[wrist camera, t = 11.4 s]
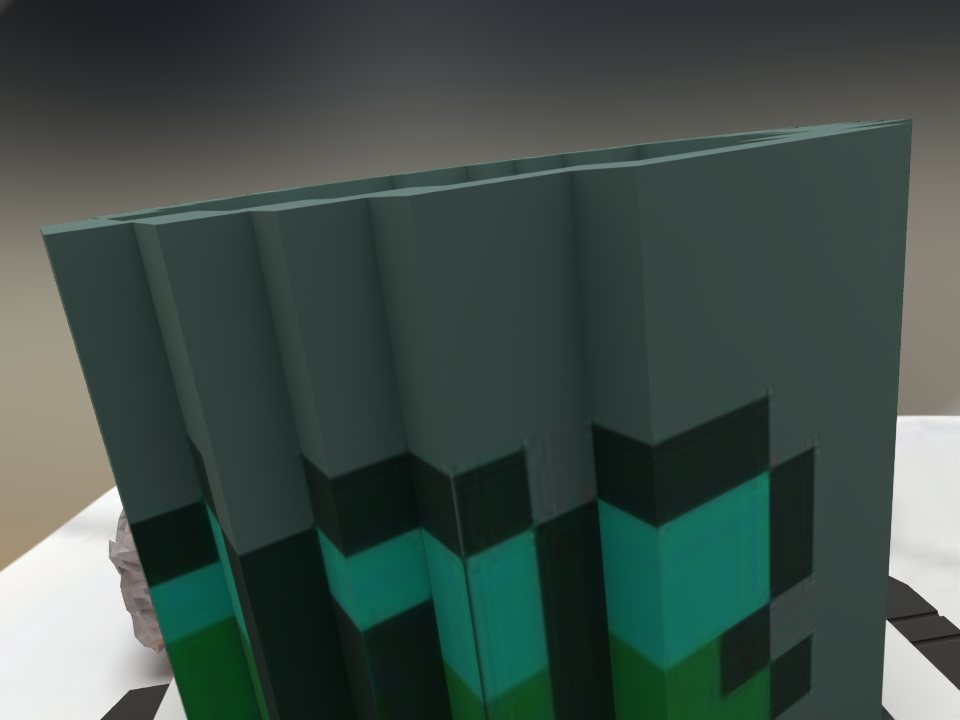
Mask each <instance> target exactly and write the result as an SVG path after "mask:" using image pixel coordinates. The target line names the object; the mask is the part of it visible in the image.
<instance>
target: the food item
mask: <svg viewBox="0 0 960 720" xmlns="http://www.w3.org/2000/svg"><path fill="white" fill-rule="evenodd" d="M109 558H110V560H111V561H112V563H113V564H114V565H115V567H116V569H117V571H118V572H119V574H120V575H121V584H120V587H121V591H122V595H123V599H124V603H125V606H126V609H127V611H128V612H129V613H131V616H132V620H133V626H134V634H135V637H136V638H137V639H138V640H139V641H140V642H141V643H142V644H143V645H144V646H146V647H150V648H153V649H154V650H155V651H156V652H157V653H158V654H159V653H160V652H161V651H162V649H163V648H164V647H165V646H164V643H163V639H162V636H161V633H160V629H159V626H158V622H157V619H156V616H155V612H154V609H153V606H152V602H151V599H150V596H149V592H148V589H147V586H146V582H145V579H144V576H143V572H142V569H141V566H140V562H139V559H138V555H137V552H136V549H135V545H134V542H133V539H132V535H131V532H130V529H129V525H128V522H127V519H126V515H125V512H124V509H123V510H122V512H121V515H120V517H119V521H118V527H117V534H116V542H115V543H114V542H112V541H110V540H109Z"/></svg>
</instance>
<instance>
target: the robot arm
mask: <svg viewBox="0 0 960 720" xmlns="http://www.w3.org/2000/svg"><path fill="white" fill-rule="evenodd" d="M101 720H186V716H185V713H184V710H183V706H182V703H181V699H180V696H179V693H178V689H177V686H176V683H175V679H174V677H173V679H172V681H171V683H170V684H164V685H158V686H152V687H146V688H140V689H134V690H130V691H129V692H128V693H127V694H126V695H125V696H124V697H123V698H122V699H121V700H120V701H119V702H118V703H117V704H116V705H115V706H114V707H113V708H112V709H111V710H110V711H109V712H108V713H107V714H106V715H105V716H104V717H103V718H102V719H101ZM881 720H960V630H959V629H958V628H957V627H956V626H955V625H954V624H953V623H951V622H950V621H949V620H948V619H947V618H946V617H944V616H939V614H938V611H937V610H936V609H935V608H934V607H933V606H932V605H930V604H929V603H928V602H927V601H926V600H925V599H923V598H922V597H921V596H920V595H919V594H918V593H916V592H915V591H914V590H913V589H912V588H911V587H909V586H908V585H907V584H905V583H903V582H901V581H899V580H897V579H895V578H893V577H890V576H888V594H887V613H886V632H885V652H884V671H883V690H882V709H881Z"/></svg>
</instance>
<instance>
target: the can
mask: <svg viewBox="0 0 960 720" xmlns="http://www.w3.org/2000/svg"><path fill="white" fill-rule="evenodd" d="M911 135H912V119H903V120H892V121H883V120H878V121H869V122H860V121H857V122H848V123H839V124H830V125H820V126H811V127H801V128H798V127H793V128H783V129H774V130H765V131H755V132H747V133H737V134H728V135H719V136H709V137H700V138H692V139H682V140H673V141H664V142H654V143H646V144H636V145H629V146H622V147H615V148H606V149H597V150H587V151H578V152H569V153H562V154H554V155H546V156H540V157H539V156H538V157H529V158H520V159H514V160H505V161H498V162H489V163H480V164H472V165H464V166H457V167H450V168H442V169H435V170H429V171H420V172H411V173H402V174H394V175H388V176H379V177H372V178H365V179H357V180H350V181H342V182H335V183H329V184H321V185H313V186H306V187H298V188H291V189H284V190H276V191H269V192H261V193H254V194H247V195H243V196H236V197H229V198H221V199H214V200H207V201H200V202H192V203H185V204H177V205H175V206H168V207H160V208H153V209H146V210H139V211H137V212H129V213H122V214H115V215H108V216H100V217H93V220H86V221H78V222H71V223H64V224H57V225H49V226H42V227H40V230H41V234H42V237H43V241H44V244H45V247H46V251H47V254H48V257H49V261H50V264H51V267H52V271H53V274H54V277H55V281H56V284H57V287H58V291H59V294H60V298H61V301H62V304H63V307H64V311H65V314H66V318H67V321H68V324H69V328H70V331H71V334H72V337H73V341H74V344H75V348H76V351H77V354H78V358H79V361H80V364H81V368H82V371H83V374H84V378H85V381H86V385H87V388H88V391H89V395H90V398H91V401H92V404H93V408H94V411H95V415H96V418H97V421H98V425H99V428H100V432H101V434H102V438H103V442H104V445H105V448H106V452H107V455H108V458H109V462H110V465H111V468H112V472H113V475H114V478H115V482H116V485H117V488H118V492H119V495H120V499H121V502H122V505H123V509H124V512H125V515H126V519H127V522H128V525H129V529H130V532H131V535H132V539H133V542H134V545H135V549H136V552H137V555H138V559H139V562H140V566H141V569H142V572H143V576H144V579H145V582H146V586H147V589H148V592H149V596H150V599H151V602H152V606H153V609H154V612H155V616H156V619H157V622H158V626H159V629H160V633H161V636H162V639H163V643H164V646H165V649H166V653H167V656H168V659H169V663H170V666H171V669H172V673H173V676H174V679H175V683H176V686H177V689H178V693H179V696H180V699H181V703H182V706H183V710H184V713H185V716H186V720H881V709H882V690H883V671H884V652H885V632H886V613H887V594H888V575H889V556H890V537H891V518H892V499H893V479H894V460H895V441H896V422H897V403H898V384H899V365H900V346H901V326H902V306H903V288H904V269H905V250H906V230H907V211H908V193H909V174H910V154H911Z"/></svg>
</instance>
